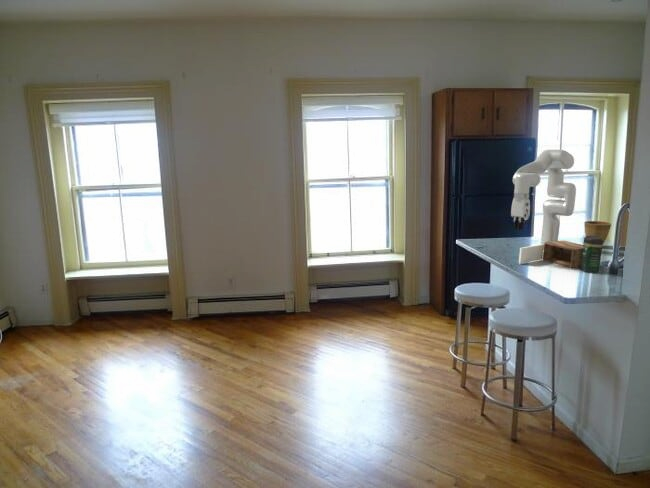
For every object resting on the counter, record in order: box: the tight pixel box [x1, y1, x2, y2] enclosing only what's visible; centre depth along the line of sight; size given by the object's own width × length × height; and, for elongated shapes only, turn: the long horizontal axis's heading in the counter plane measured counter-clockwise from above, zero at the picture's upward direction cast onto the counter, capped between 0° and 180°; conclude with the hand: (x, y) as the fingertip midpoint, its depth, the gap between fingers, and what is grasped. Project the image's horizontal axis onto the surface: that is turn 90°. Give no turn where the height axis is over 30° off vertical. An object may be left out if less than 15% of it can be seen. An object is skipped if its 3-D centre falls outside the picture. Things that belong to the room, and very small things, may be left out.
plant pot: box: [583, 220, 612, 245], centre depth 284 cm, size 15×15×16 cm
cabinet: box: [542, 239, 583, 270], centre depth 245 cm, size 14×20×11 cm
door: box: [518, 244, 544, 265], centre depth 248 cm, size 2×19×9 cm, turn 118°
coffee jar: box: [579, 235, 604, 274], centre depth 229 cm, size 10×8×19 cm
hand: (518, 228), depth 247 cm, fingers closed
